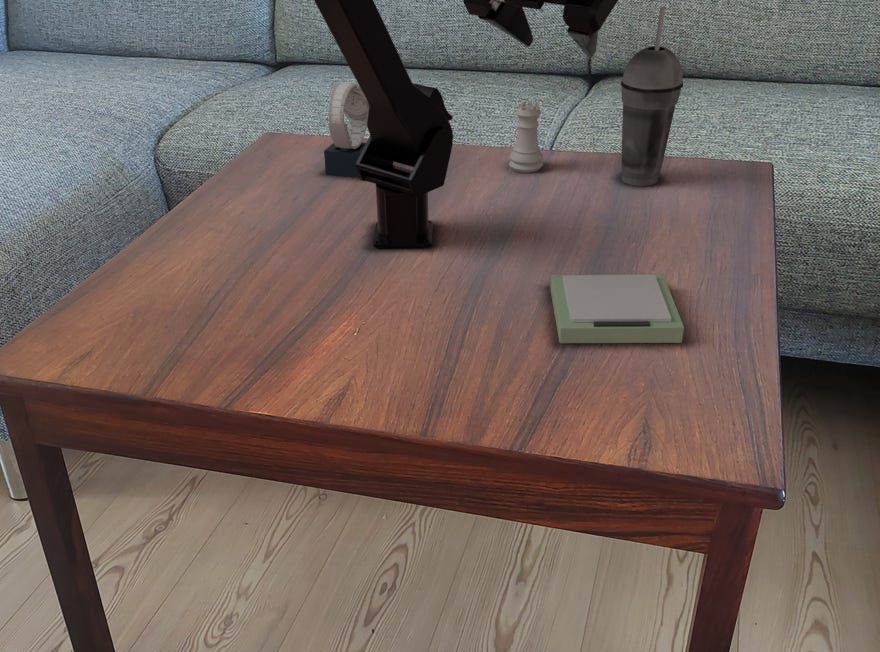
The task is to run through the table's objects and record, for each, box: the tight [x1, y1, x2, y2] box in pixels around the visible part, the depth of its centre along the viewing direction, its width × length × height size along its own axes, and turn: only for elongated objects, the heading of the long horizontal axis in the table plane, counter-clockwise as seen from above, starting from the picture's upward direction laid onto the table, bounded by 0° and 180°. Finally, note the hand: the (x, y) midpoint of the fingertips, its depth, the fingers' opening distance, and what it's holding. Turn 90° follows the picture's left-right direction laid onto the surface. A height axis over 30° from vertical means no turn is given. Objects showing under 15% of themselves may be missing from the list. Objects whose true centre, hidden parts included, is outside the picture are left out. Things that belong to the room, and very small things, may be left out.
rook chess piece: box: [508, 101, 544, 174], centre depth 120 cm, size 4×4×8 cm
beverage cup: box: [620, 6, 684, 187], centre depth 111 cm, size 7×7×20 cm
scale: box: [549, 273, 685, 344], centre depth 88 cm, size 11×11×2 cm
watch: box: [323, 81, 369, 179], centre depth 120 cm, size 6×8×11 cm
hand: (560, 48), depth 113 cm, fingers open, 9 cm apart
